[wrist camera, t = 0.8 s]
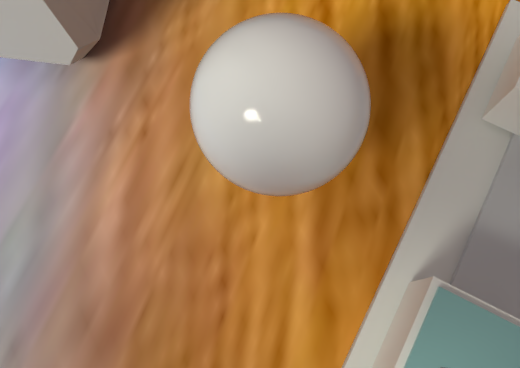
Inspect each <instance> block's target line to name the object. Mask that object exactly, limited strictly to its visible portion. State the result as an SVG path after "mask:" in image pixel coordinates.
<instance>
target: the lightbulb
mask: <svg viewBox="0 0 520 368" xmlns="http://www.w3.org/2000/svg"><path fill="white" fill-rule="evenodd" d="M370 113H371V96H370V88H369V83H368V79H367V76H366V73H365V70H364V68H363V65H362V63H361V61H360V59H359V58H358V56H357V54H356V53H355V51H354V50H353V49H352V47H351V46H350V45H349V44H348V42H347V41H346V40H345V39H344V38H343V37H342V36H341V35H339V34H338V33H337V32H336V31H334V30H333V29H332V28H330V27H329V26H327V25H325V24H323V23H322V22H320V21H317V20H315V19H313V18H310V17H307V16H303V15H299V14H293V13H269V14H263V15H259V16H255V17H252V18H249V19H247V20H244V21H242V22H240V23H238V24H236V25H235V26H233V27H231V28H230V29H228V30H227V31H226V32H224V33H223V34H222V35H221V36H220V37H219V38H218V39H217V40H216V41H215V42H214V43H213V44H212V45H211V46H210V47H209V49H208V50H207V51H206V53H205V54H204V56H203V58H202V59H201V61H200V63H199V65H198V67H197V70H196V72H195V75H194V78H193V82H192V86H191V93H190V118H191V124H192V128H193V132H194V135H195V138H196V140H197V142H198V145H199V147H200V149H201V150H202V152H203V154H204V155H205V157H206V158H207V160H208V161H209V162H210V164H211V165H212V166H213V167H214V168H215V169H216V170H217V171H218V172H219V173H220V174H221V175H222V176H224V177H225V178H226V179H228V180H229V181H230V182H232V183H234V184H235V185H237V186H239V187H241V188H243V189H246V190H248V191H251V192H254V193H258V194H262V195H268V196H291V195H297V194H302V193H305V192H309V191H311V190H314V189H316V188H318V187H320V186H322V185H324V184H326V183H328V182H329V181H331V180H332V179H333V178H335V177H336V176H337V175H338V174H340V173H341V172H342V171H343V170H344V169H345V168H346V167H347V166H348V165H349V163H350V162H351V161H352V160H353V158H354V157H355V155H356V154H357V152H358V150H359V149H360V147H361V145H362V143H363V141H364V138H365V136H366V133H367V129H368V125H369V120H370Z"/></svg>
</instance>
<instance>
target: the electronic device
mask: <svg viewBox="0 0 520 368" xmlns="http://www.w3.org/2000/svg"><path fill="white" fill-rule="evenodd" d="M108 4H109V0H0V57H2V58H11V59H20V60H29V61H37V62H46V63H55V64H64V65H71V64H73V63H75V62H76V61H78V60H80V59H82V58H84V57H85V55H86V54H87V53H88V52H89V51H90V50H91V49H92V48H93V47H94V45H95V44H96V43H97V42H98V41H99V40H100V37H101V33H102V29H103V25H104V21H105V17H106V13H107V9H108Z"/></svg>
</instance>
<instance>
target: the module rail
mask: <svg viewBox="0 0 520 368" xmlns="http://www.w3.org/2000/svg"><path fill="white" fill-rule="evenodd" d="M441 367H445V368H520V2H518V1H516V0H510V1H509V3H508V4H507V5H506V7H505V10H504V12H503V14H502V16H501V18H500V21H499V23H498V25H497V27H496V29H495V32H494V34H493V36H492V38H491V40H490V43H489V45H488V47H487V49H486V51H485V54H484V56H483V58H482V60H481V62H480V65H479V67H478V69H477V71H476V73H475V76H474V78H473V80H472V82H471V84H470V87H469V89H468V91H467V93H466V95H465V98H464V100H463V102H462V104H461V106H460V109H459V111H458V113H457V115H456V117H455V120H454V122H453V124H452V126H451V128H450V131H449V133H448V135H447V137H446V139H445V142H444V144H443V146H442V148H441V150H440V153H439V155H438V157H437V159H436V161H435V164H434V166H433V168H432V170H431V172H430V175H429V177H428V179H427V181H426V183H425V186H424V188H423V190H422V192H421V194H420V197H419V199H418V201H417V203H416V205H415V208H414V210H413V212H412V214H411V216H410V219H409V221H408V223H407V225H406V227H405V230H404V232H403V234H402V236H401V238H400V241H399V243H398V245H397V247H396V249H395V252H394V254H393V256H392V258H391V260H390V263H389V265H388V267H387V269H386V271H385V274H384V276H383V278H382V280H381V282H380V285H379V287H378V289H377V291H376V293H375V296H374V298H373V300H372V302H371V304H370V307H369V309H368V311H367V313H366V315H365V317H364V320H363V322H362V324H361V326H360V328H359V331H358V333H357V335H356V337H355V339H354V342H353V344H352V346H351V348H350V350H349V353H348V355H347V357H346V359H345V361H344V364H343V366H342V368H441Z"/></svg>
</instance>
